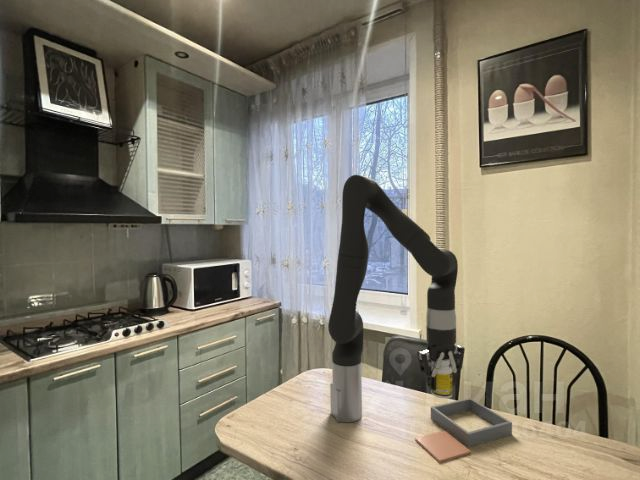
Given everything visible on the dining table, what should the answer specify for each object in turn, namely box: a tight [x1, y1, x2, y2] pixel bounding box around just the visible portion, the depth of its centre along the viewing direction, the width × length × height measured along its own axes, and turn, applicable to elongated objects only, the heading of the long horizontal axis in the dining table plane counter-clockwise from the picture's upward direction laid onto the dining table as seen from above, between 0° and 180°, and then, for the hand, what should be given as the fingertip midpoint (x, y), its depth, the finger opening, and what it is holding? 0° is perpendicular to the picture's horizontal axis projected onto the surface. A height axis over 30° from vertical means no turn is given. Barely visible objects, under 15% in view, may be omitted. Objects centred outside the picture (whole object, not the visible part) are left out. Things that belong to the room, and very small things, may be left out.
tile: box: [415, 429, 472, 463], centre depth 92 cm, size 10×10×1 cm
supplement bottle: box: [430, 359, 453, 400], centre depth 92 cm, size 5×5×10 cm
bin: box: [430, 397, 513, 448], centre depth 102 cm, size 16×16×4 cm
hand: (441, 387), depth 92 cm, fingers closed on supplement bottle, 5 cm apart
